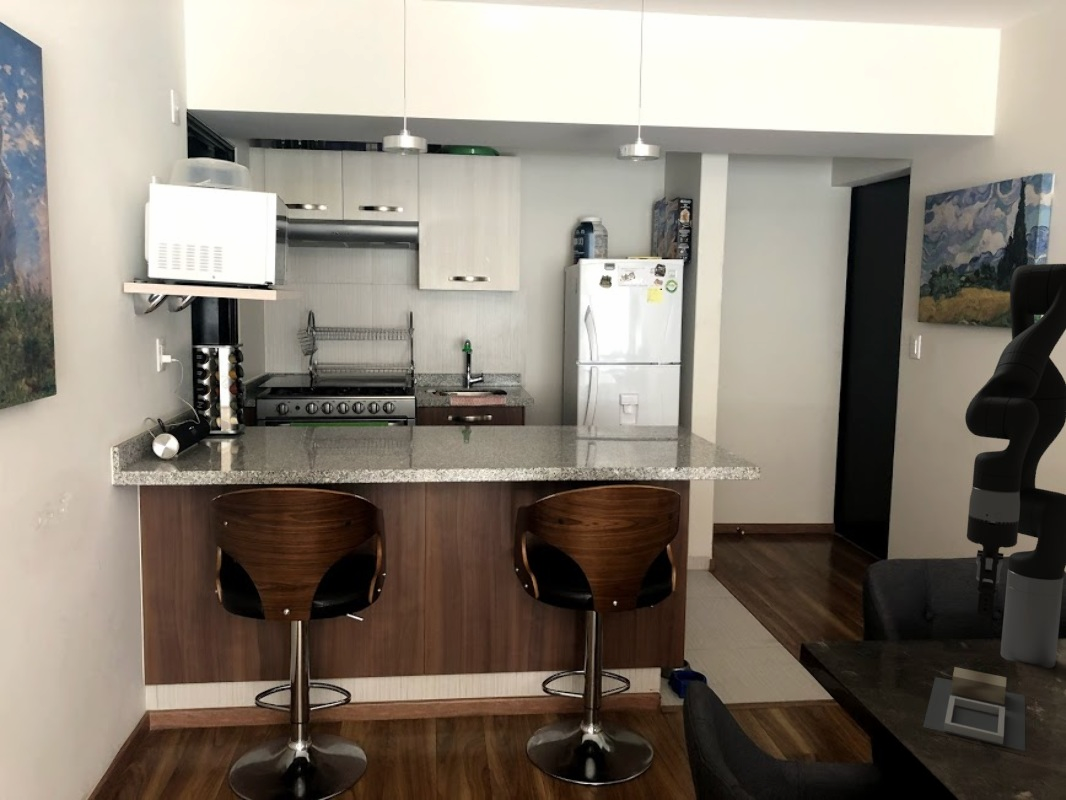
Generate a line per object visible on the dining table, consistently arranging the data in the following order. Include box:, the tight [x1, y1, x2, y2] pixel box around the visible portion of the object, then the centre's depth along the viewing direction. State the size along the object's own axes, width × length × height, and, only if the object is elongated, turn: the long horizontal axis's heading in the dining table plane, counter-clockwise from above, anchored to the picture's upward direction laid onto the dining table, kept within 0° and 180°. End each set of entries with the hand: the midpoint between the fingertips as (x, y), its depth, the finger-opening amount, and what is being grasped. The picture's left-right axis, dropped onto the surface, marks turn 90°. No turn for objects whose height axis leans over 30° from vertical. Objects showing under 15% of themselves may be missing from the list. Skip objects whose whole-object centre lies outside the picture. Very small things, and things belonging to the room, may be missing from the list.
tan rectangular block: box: [952, 666, 1007, 704], centre depth 149 cm, size 8×4×3 cm, turn 61°
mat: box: [922, 676, 1026, 757], centre depth 142 cm, size 22×14×1 cm, turn 151°
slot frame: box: [944, 695, 1005, 744], centre depth 138 cm, size 12×8×1 cm
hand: (985, 608), depth 147 cm, fingers open, 8 cm apart
